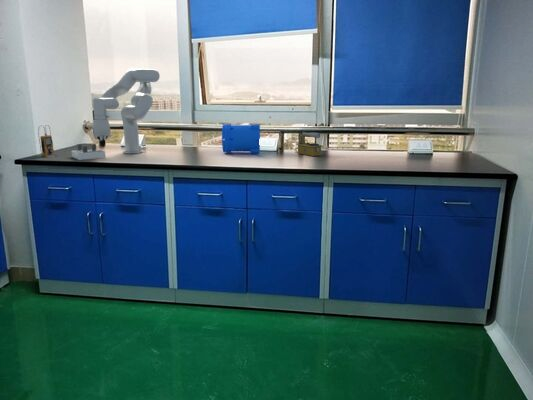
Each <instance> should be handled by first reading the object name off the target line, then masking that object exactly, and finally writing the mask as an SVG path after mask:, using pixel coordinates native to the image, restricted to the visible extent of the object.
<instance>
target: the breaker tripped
mask: <svg viewBox="0 0 533 400" xmlns="http://www.w3.org/2000/svg"><path fill="white" fill-rule="evenodd" d="M90 149H91V150H96V149H97V144H96V143H91V144H90Z"/></svg>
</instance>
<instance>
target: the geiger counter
mask: <svg viewBox="0 0 533 400" xmlns="http://www.w3.org/2000/svg"><path fill="white" fill-rule="evenodd" d="M301 135H302V136H301ZM297 136H298V137H297V139H300V138H299V137H300V136H301V137H302V140H301V142H298V143H296V144H295V145H296V146H297V147H296V148H295V149H294V151H295V153H296V154H299V155H305V156H312V157H316V156H321V155H322V148H323V147H324V146H323V145H321V144H320V143H315V142H311V143H310V142H309V141H308V140H307V139H306V138H316V139H319V138H320V137H321V133H319V132H312V131H311V132H304V131H303V132H300V133H298V135H297Z"/></svg>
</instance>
